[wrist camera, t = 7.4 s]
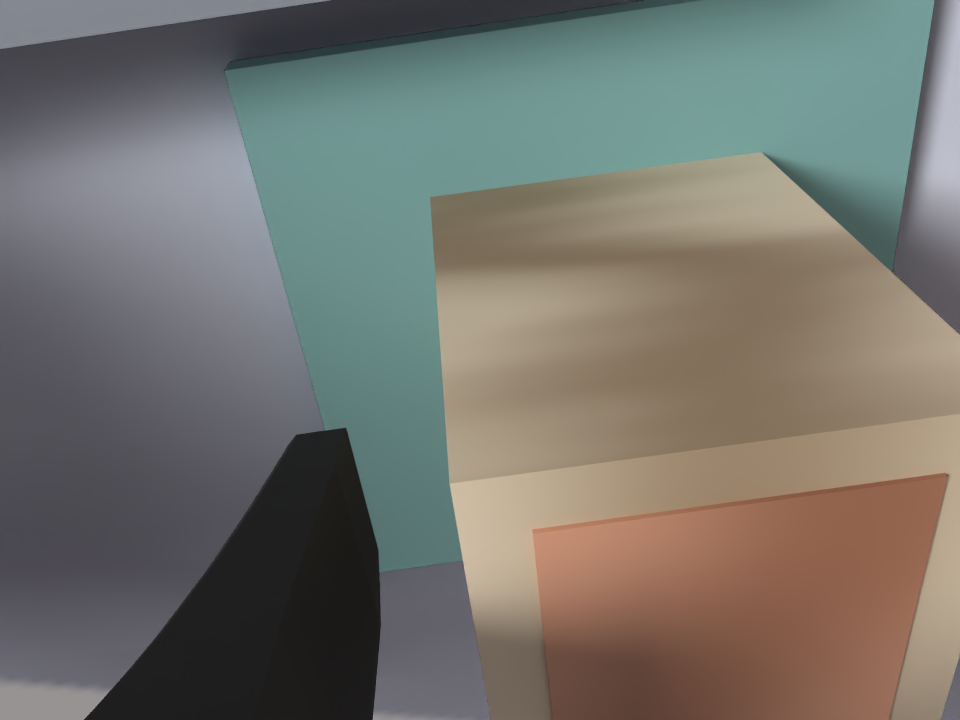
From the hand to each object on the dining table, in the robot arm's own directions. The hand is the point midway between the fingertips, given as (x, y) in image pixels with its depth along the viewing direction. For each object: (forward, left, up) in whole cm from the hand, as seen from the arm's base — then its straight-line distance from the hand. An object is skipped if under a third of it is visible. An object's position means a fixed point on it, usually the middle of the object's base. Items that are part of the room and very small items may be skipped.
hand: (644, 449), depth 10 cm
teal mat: (0, 0, -3) cm, 3 cm away
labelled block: (0, 0, -3) cm, 3 cm away
